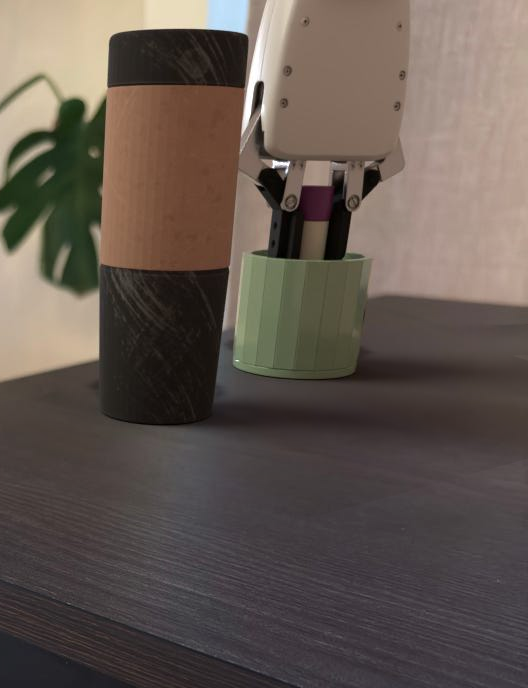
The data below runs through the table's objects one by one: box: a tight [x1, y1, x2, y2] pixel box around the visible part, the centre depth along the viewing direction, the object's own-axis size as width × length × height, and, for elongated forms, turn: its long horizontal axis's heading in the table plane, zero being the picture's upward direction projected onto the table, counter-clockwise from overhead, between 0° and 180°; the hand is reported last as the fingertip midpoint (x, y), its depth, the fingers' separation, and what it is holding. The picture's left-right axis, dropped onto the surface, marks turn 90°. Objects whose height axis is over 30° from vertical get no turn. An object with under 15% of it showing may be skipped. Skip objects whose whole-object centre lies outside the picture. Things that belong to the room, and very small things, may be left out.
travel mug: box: [98, 28, 250, 425], centre depth 55 cm, size 8×8×20 cm
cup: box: [232, 248, 375, 380], centre depth 70 cm, size 9×9×8 cm
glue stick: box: [298, 184, 335, 260], centre depth 69 cm, size 3×3×9 cm
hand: (304, 268), depth 69 cm, fingers closed on glue stick, 2 cm apart
